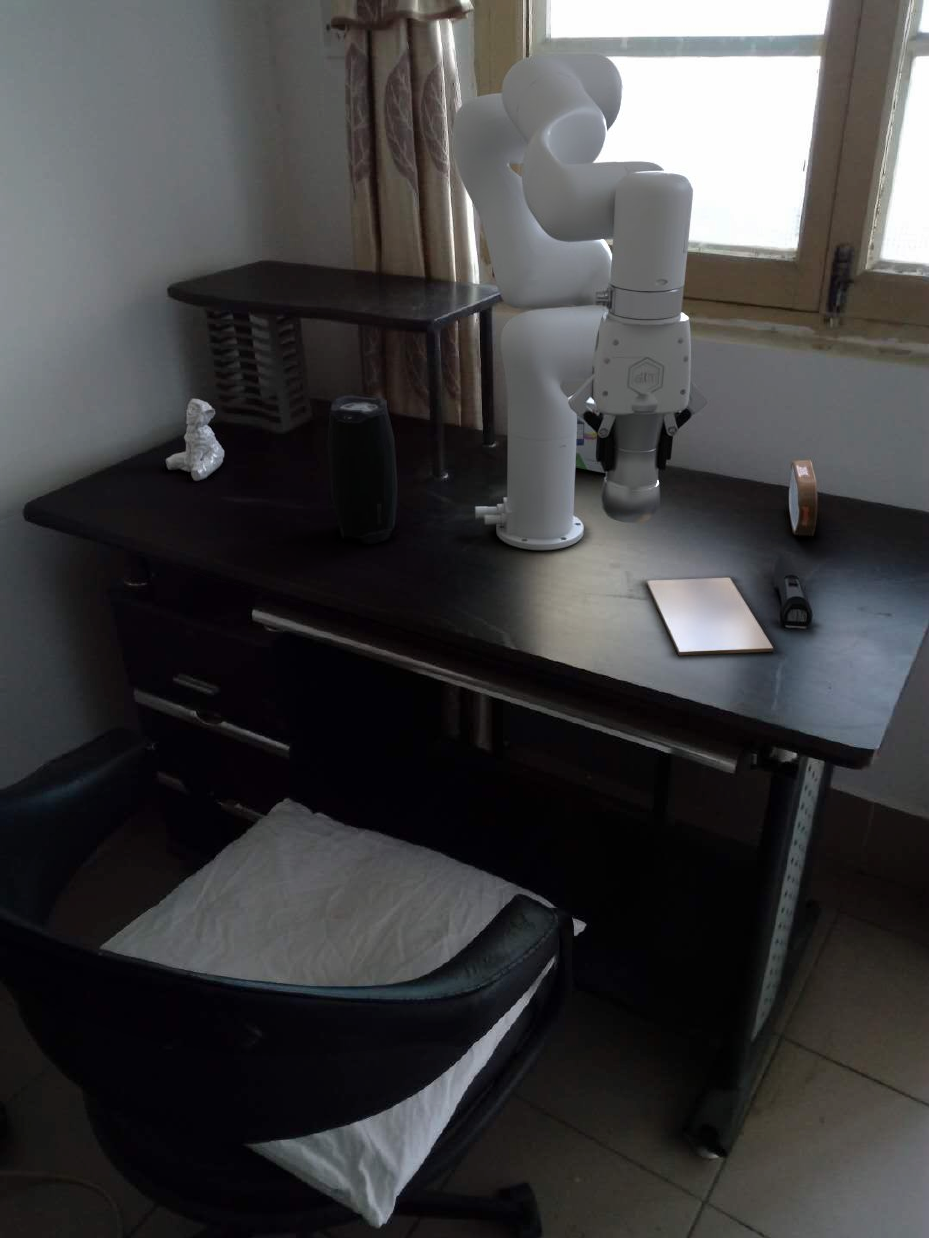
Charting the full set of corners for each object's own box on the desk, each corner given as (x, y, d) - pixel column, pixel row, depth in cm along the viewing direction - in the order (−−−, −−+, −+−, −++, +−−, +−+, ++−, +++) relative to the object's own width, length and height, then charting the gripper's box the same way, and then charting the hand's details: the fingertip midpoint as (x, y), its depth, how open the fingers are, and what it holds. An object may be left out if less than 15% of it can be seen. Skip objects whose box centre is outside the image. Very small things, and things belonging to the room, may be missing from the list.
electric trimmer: (797, 573, 134) (801, 551, 133) (812, 629, 121) (816, 605, 120) (768, 571, 135) (771, 549, 134) (779, 627, 122) (783, 603, 120)
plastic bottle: (652, 533, 113) (671, 356, 103) (593, 524, 115) (606, 350, 105) (661, 510, 119) (680, 340, 108) (605, 503, 120) (618, 334, 110)
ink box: (622, 466, 169) (627, 397, 163) (608, 475, 165) (612, 405, 160) (577, 456, 173) (580, 389, 168) (562, 465, 170) (565, 397, 164)
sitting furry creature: (163, 469, 171) (151, 400, 165) (205, 455, 177) (195, 388, 171) (197, 482, 166) (186, 411, 160) (239, 467, 171) (230, 398, 165)
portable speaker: (333, 524, 150) (322, 395, 141) (395, 519, 151) (389, 391, 142) (337, 548, 143) (325, 414, 133) (402, 542, 144) (396, 409, 135)
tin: (814, 546, 141) (823, 490, 137) (790, 544, 142) (799, 488, 138) (804, 504, 154) (813, 451, 150) (783, 503, 154) (791, 450, 150)
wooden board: (678, 655, 116) (679, 651, 116) (646, 583, 132) (646, 580, 132) (773, 651, 117) (773, 648, 117) (729, 580, 132) (729, 577, 132)
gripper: (568, 313, 101) (561, 481, 110) (737, 309, 102) (716, 477, 111) (558, 295, 107) (552, 456, 117) (717, 292, 108) (699, 452, 117)
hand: (632, 465), depth 114 cm, fingers closed on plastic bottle, 5 cm apart
